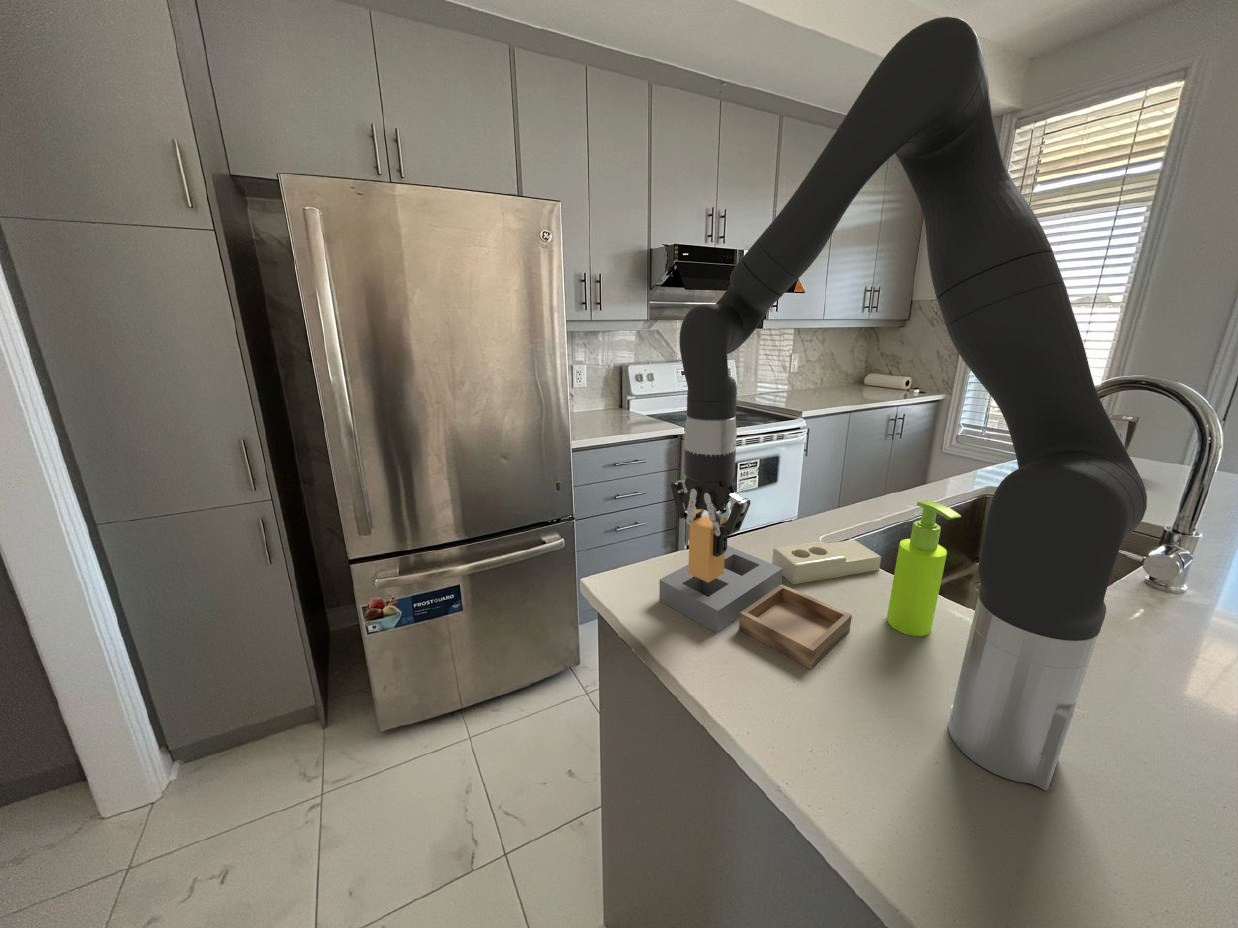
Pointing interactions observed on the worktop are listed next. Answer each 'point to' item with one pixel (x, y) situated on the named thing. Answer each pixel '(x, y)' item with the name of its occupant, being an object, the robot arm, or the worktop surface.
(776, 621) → the tray
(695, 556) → the plug
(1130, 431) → the coffee box
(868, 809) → the worktop surface
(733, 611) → the cinder block
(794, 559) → the electrical outlet
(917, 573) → the soap dispenser
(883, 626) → the worktop surface
